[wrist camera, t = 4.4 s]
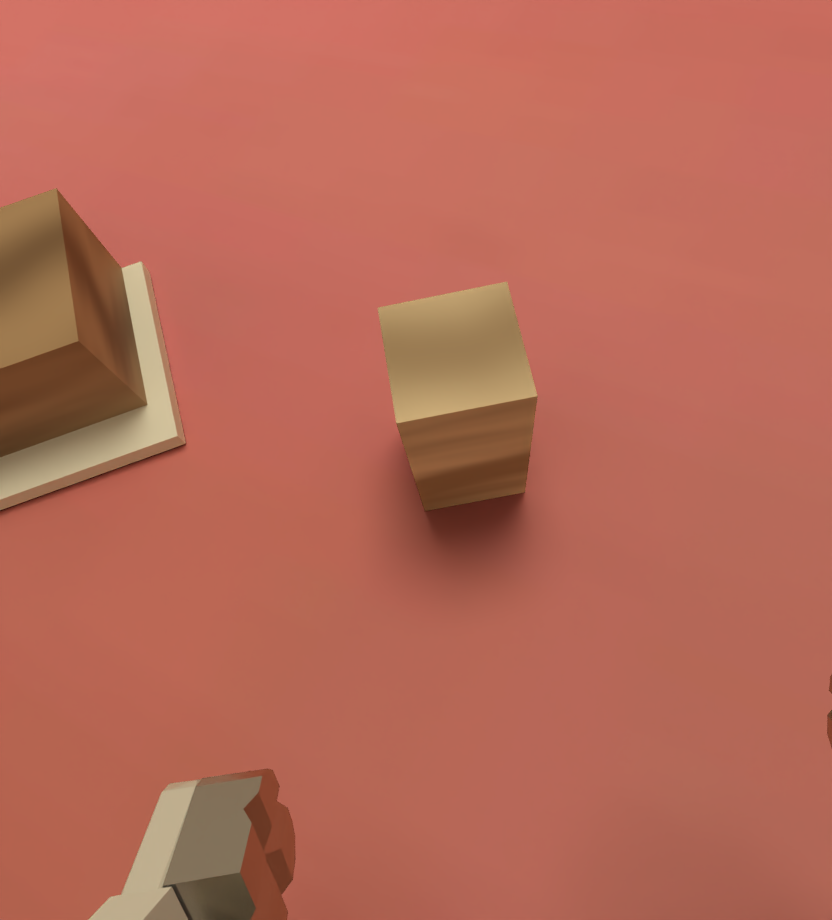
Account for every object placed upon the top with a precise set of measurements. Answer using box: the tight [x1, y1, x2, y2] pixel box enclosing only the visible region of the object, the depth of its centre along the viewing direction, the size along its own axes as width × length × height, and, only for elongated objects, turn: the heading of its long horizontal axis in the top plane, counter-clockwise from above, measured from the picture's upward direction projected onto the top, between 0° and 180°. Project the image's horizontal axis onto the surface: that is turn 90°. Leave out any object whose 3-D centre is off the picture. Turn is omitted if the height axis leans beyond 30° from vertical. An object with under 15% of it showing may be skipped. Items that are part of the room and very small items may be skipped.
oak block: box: [378, 282, 537, 511], centre depth 22 cm, size 4×4×8 cm
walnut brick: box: [0, 188, 148, 457], centre depth 27 cm, size 8×8×5 cm
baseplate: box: [0, 262, 186, 510], centre depth 29 cm, size 10×9×1 cm
